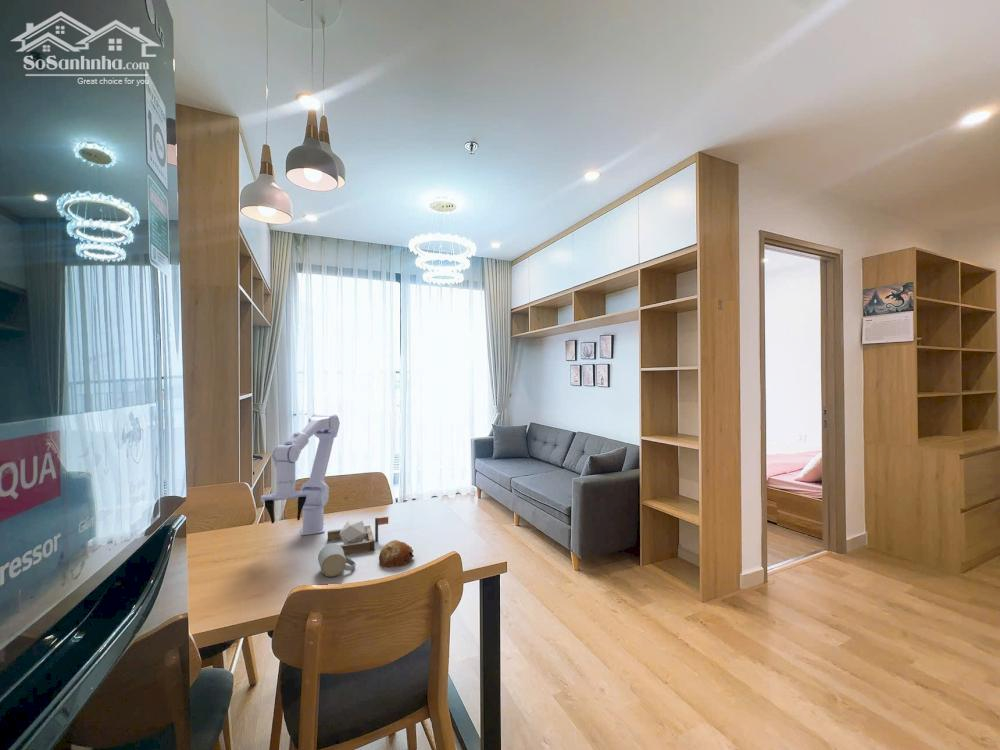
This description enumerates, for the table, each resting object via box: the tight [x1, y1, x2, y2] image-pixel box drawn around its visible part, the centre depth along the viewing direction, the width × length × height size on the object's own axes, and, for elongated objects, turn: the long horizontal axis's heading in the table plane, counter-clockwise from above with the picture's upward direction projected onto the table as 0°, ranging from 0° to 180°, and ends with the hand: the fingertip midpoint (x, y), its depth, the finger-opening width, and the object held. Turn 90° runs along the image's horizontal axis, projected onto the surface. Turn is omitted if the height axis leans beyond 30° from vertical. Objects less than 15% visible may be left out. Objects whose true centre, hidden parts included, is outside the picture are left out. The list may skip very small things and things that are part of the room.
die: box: [339, 520, 367, 544], centre depth 144 cm, size 8×9×10 cm
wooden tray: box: [327, 516, 389, 556], centre depth 145 cm, size 16×20×8 cm
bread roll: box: [378, 539, 415, 569], centre depth 132 cm, size 10×10×8 cm
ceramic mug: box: [317, 543, 357, 578], centre depth 125 cm, size 10×8×7 cm
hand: (286, 520), depth 141 cm, fingers open, 7 cm apart
